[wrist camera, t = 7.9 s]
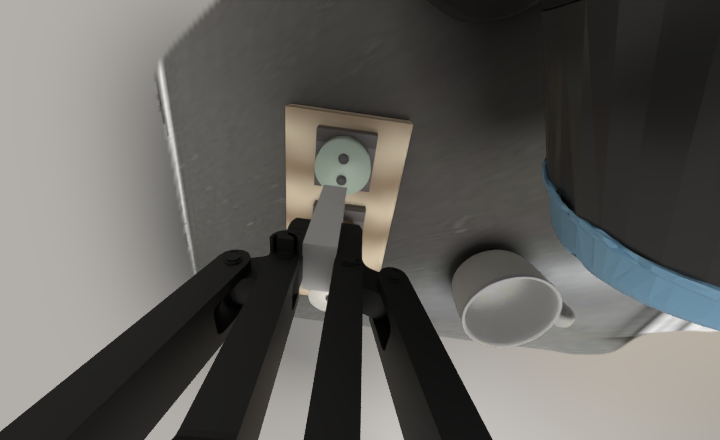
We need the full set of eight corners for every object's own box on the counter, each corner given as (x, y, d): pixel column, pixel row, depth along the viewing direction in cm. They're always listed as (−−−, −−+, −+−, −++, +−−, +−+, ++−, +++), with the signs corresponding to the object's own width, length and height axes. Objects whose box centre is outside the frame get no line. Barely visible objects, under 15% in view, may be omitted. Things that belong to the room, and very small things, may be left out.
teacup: (430, 284, 37) (444, 333, 31) (474, 225, 32) (504, 268, 25) (509, 312, 40) (539, 363, 33) (563, 260, 35) (611, 308, 28)
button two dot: (321, 128, 25) (315, 137, 22) (373, 135, 25) (375, 145, 22) (319, 177, 27) (312, 192, 24) (366, 184, 28) (366, 199, 24)
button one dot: (314, 260, 33) (308, 280, 30) (353, 264, 33) (352, 285, 30) (312, 288, 35) (307, 310, 32) (349, 293, 36) (347, 315, 32)
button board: (290, 103, 26) (280, 108, 23) (410, 120, 26) (415, 127, 23) (290, 282, 38) (284, 301, 35) (373, 291, 38) (373, 311, 35)
